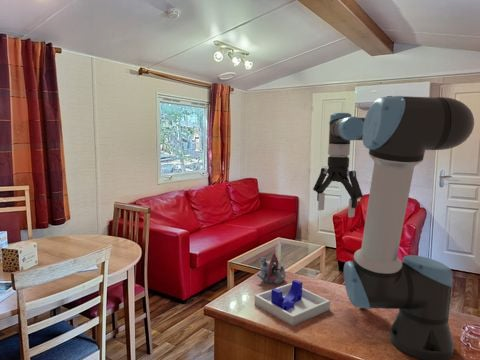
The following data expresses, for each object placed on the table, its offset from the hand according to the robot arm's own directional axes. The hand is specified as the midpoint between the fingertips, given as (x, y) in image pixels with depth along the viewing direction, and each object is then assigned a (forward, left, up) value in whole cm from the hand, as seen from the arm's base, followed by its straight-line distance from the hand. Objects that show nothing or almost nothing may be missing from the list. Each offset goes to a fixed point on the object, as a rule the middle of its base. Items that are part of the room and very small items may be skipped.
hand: (335, 213), depth 131 cm
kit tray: (-5, +27, -27) cm, 38 cm away
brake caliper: (+15, +18, -27) cm, 35 cm away
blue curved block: (-4, +28, -26) cm, 38 cm away
